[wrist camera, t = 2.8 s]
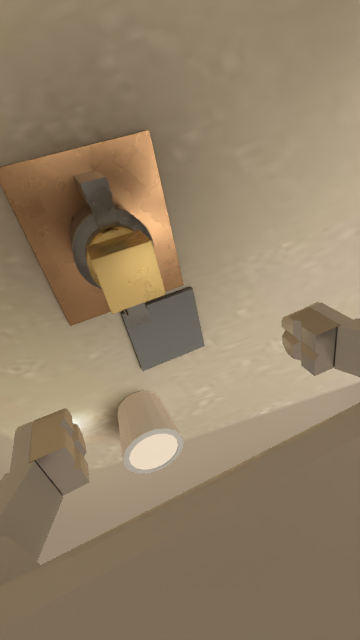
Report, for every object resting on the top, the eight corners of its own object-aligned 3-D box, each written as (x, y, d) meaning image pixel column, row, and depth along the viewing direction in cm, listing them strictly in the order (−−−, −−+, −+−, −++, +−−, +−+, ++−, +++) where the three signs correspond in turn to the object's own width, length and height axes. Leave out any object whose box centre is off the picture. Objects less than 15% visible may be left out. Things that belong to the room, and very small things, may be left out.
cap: (65, 210, 20) (69, 227, 16) (128, 192, 21) (149, 203, 17) (104, 306, 24) (116, 341, 20) (155, 287, 25) (177, 317, 21)
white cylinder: (139, 378, 37) (156, 420, 31) (175, 401, 41) (195, 442, 35) (100, 415, 37) (109, 464, 32) (139, 435, 41) (153, 481, 35)
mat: (120, 312, 32) (121, 314, 31) (190, 286, 33) (192, 288, 33) (141, 368, 36) (142, 371, 36) (202, 343, 38) (204, 346, 37)
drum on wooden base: (-5, 168, 23) (-29, 175, 16) (145, 130, 25) (180, 123, 18) (69, 321, 30) (74, 369, 24) (180, 281, 33) (213, 315, 26)
